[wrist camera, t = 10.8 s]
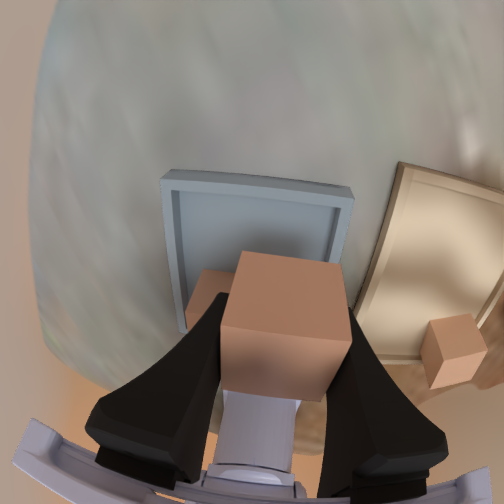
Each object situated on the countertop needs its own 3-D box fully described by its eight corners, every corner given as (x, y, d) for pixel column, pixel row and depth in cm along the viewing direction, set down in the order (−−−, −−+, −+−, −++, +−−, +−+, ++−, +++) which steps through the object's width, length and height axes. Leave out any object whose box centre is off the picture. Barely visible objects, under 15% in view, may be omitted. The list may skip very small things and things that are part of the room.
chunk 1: (259, 319, 21) (252, 364, 18) (205, 311, 22) (191, 354, 18) (264, 276, 19) (256, 322, 16) (203, 268, 19) (184, 311, 16)
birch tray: (451, 354, 22) (453, 363, 21) (336, 352, 23) (336, 362, 22) (533, 202, 13) (541, 209, 12) (398, 161, 14) (404, 166, 13)
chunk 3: (458, 344, 21) (470, 379, 17) (419, 351, 22) (429, 389, 18) (470, 312, 19) (487, 350, 15) (429, 320, 19) (443, 360, 16)
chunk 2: (340, 264, 12) (352, 341, 8) (319, 329, 14) (320, 401, 11) (241, 250, 12) (220, 325, 9) (237, 319, 14) (221, 389, 11)
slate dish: (312, 334, 22) (312, 351, 21) (185, 317, 23) (179, 332, 22) (349, 187, 15) (354, 199, 14) (170, 169, 16) (159, 178, 15)
